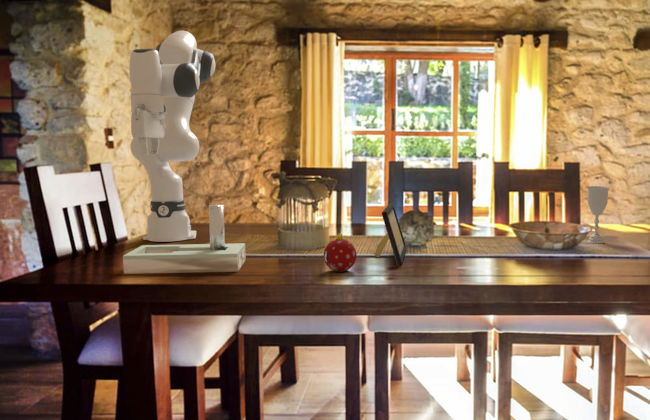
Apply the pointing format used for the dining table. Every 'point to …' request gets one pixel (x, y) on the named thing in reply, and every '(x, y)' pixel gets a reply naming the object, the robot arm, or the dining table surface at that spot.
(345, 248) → the christmas ornament
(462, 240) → the dining table surface
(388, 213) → the picture frame
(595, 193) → the chalice
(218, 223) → the keyhole peg
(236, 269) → the keyhole board
